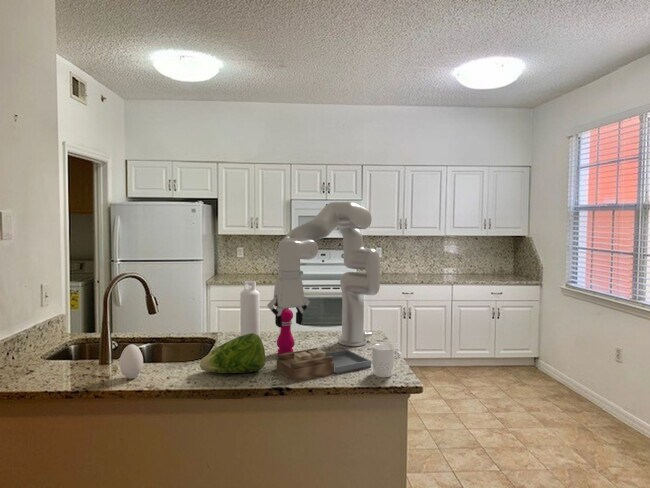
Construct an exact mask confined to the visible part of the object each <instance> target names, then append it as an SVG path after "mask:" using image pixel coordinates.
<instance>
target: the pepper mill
mask: <svg viewBox="0 0 650 488" xmlns="http://www.w3.org/2000/svg"><path fill="white" fill-rule="evenodd" d="M281 316H282V327H280V331H279V335H278V337H277V339H276V346H277V347H278V349H277V355H278V354H284V353H290V352H294V348H293V347H294V346H295V338H294V336H293V334H292V331H291V329H292V328H291V327H292V325H293V321H292V320H293V318H294V313H293V311H292V310H291V308H283V310H282V313H281Z"/></svg>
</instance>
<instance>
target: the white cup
mask: <svg viewBox="0 0 650 488" xmlns="http://www.w3.org/2000/svg"><path fill="white" fill-rule="evenodd" d="M371 351H372V352H371V353H372V355H371V356H372V357H371V358H372V368H373V369H372V372H373V375H374V376H375V377H377V378H378V377H379V378H389V377H391V376H393V371H394V370H393V368H394V361H395V346H394V345H392V344H390V343H389V344H388V343H375V344H373V345H371Z"/></svg>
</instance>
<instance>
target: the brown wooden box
mask: <svg viewBox="0 0 650 488" xmlns="http://www.w3.org/2000/svg"><path fill="white" fill-rule="evenodd" d="M318 349H319V348H316V347H315V348H308V349H303V350H297V351H293V352H290V353H284V354H278V353H277V358H276V370H277V371H278V372H280V373H281V374H283V376H285V377H286V378H288V379H289V380H291V381H292V382H293V383H294V382H298V381H304V380H309V379H313V378H319V377H324V376H328V375H329V376H330V375H334V374H335V373H334V362H333V357H332V356H326V357H320V358H315V359H309V360H304V361H298V362H296V361H295V360H294V353H300V352H307V353H309V351H312V350H318Z"/></svg>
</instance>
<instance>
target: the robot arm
mask: <svg viewBox="0 0 650 488" xmlns="http://www.w3.org/2000/svg"><path fill="white" fill-rule="evenodd" d="M372 218H373V217H372V214H371V212H370V210H369V209H367V208H365V207H363V206H362V205H359V204H357V203H355V202H352V201H333V202H329V203H327V204H326V205H324V207H323V208H322V209H321V210H320V211H319V212H318V214H317V215H316V216H315V217H314V218H313V219H312V220H309V221H307V222H305V223H302V224H300V225H298V226H296V227H295V228H293V229H291V230H290V231H289V232H288V233H287V234H286V235H285V237H283V239H282V240H280V241H279V242H278V278H277V279H275V282H274V288H273V299H272V300H270V301H269V302H268V304H267V308H268V309H269V310H270V312H272V313H273V314H274V316H275V317H274V318H275V319H274V320H275V322H274V323H275V326H276V327H278V328H281V327H282V316H281V313H282V310H283V309H284V308H288V309H291V308H292V309H293V308H295V309H296V312H295V323H296V324H297V325H299V326H301V325H302V324H303V323H302V322H303V314H304V313H305V310H306V309H307V307H308V306H309V305H310V303H311V301H310V300H309V299H308V298H307V297H306V296H305V294H304V293H305V292H304V283H303V280H302V278H301V276H303V275H304V271H303V270H301V260H312V259H315V257H316V256H317V255H318V253H319V245H318V243H317V242H316V241H318V240H321V239H324V238H326V237H328V236H330V234H331V233H332V232H333V230H335V228H336V227H337V229H339V231H340V233H341V236H342V239H343V244H342V245H343V246H342V247H343V264H344V266H345V267H346V268H347V269H351V270H361V271H365V272H360V271H346V272H344V273H343V274H342V275H341V277H340V280H339V281H340V289H341V298H342V299H341V300H342V301H341V302H342V306H341V307H342V312H341V315H342V316H341V337H340V338H338V341H337V342H338V343H339V345H343V346H347V347H361V346H365V345H367V343H368V342H367V341H368V340H367V339H366V338H369V337H372V336H373V332H372V331H371V332H367V331H364V327H365V326H364V322H365V320H364V317H365V316H364V315H365V313H364V312H365V304H364V300H363V298H362V296H375V295H377V294H378V293H379V290H380V287H381V286H380V285H381V260H380V259H381V258H380V255H379V252H378V250H376V249H375V248H370V247H364V243H363V240H364V237H363V234H362V232H361V230H366V229H369V227H370V226H371V225H372ZM361 295H362V296H361Z"/></svg>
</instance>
